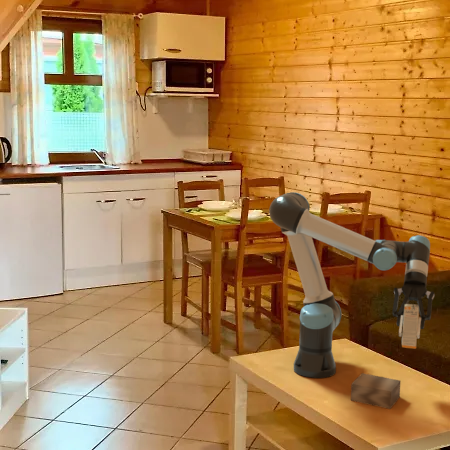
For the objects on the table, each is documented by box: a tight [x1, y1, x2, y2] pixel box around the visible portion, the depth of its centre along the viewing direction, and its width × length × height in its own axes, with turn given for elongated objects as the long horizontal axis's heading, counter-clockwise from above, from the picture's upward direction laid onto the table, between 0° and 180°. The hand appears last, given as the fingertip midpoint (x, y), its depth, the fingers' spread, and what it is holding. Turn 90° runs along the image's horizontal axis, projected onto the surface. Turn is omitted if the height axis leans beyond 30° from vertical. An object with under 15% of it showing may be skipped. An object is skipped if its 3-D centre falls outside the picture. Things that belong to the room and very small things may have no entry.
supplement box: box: [401, 303, 420, 349], centre depth 237 cm, size 8×5×13 cm, turn 166°
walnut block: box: [350, 372, 401, 410], centre depth 232 cm, size 13×11×6 cm
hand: (409, 335), depth 234 cm, fingers closed on supplement box, 5 cm apart
